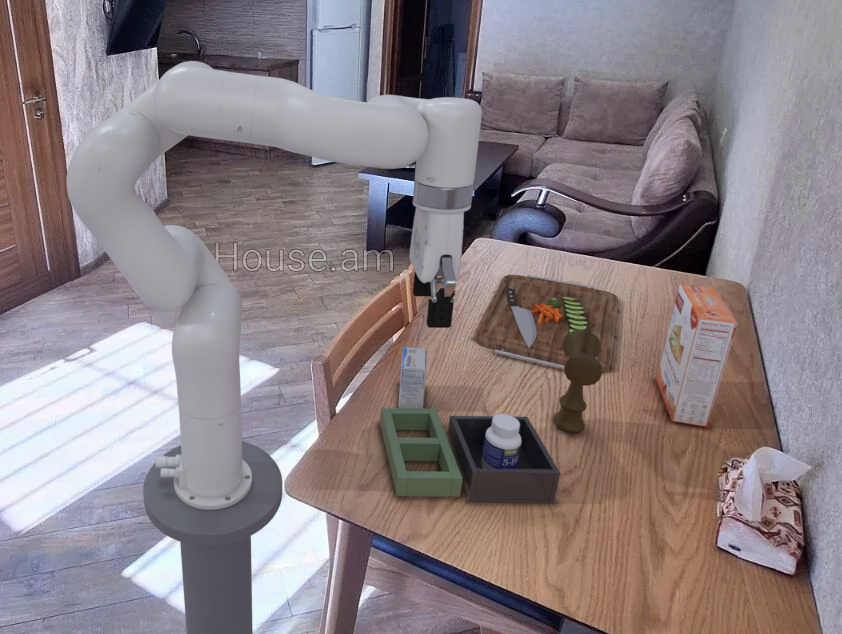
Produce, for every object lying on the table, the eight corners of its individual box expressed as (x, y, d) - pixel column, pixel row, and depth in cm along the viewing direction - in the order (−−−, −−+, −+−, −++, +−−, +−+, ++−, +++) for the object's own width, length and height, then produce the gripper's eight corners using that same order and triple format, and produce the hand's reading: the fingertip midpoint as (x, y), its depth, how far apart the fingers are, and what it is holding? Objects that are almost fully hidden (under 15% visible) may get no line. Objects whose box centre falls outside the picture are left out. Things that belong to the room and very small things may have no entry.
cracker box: (653, 380, 126) (678, 282, 118) (689, 386, 124) (716, 287, 116) (668, 422, 114) (697, 315, 106) (707, 429, 112) (740, 321, 104)
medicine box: (422, 411, 117) (427, 370, 113) (397, 408, 118) (401, 367, 114) (423, 387, 124) (427, 348, 121) (399, 385, 125) (402, 345, 122)
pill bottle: (503, 485, 98) (512, 437, 95) (473, 467, 102) (480, 420, 99) (522, 469, 101) (531, 422, 98) (492, 452, 105) (500, 407, 102)
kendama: (585, 414, 116) (607, 314, 108) (588, 446, 108) (611, 341, 100) (549, 406, 118) (568, 308, 110) (549, 437, 110) (569, 334, 102)
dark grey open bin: (468, 502, 96) (472, 472, 94) (446, 443, 108) (450, 415, 106) (554, 503, 96) (560, 473, 93) (522, 444, 108) (527, 416, 106)
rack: (396, 496, 97) (398, 477, 96) (379, 424, 113) (381, 407, 112) (460, 497, 97) (462, 478, 96) (434, 425, 113) (436, 408, 112)
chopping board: (608, 382, 125) (611, 368, 124) (468, 348, 137) (469, 336, 136) (618, 294, 162) (620, 283, 161) (506, 274, 174) (508, 263, 173)
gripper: (402, 177, 93) (394, 285, 100) (427, 214, 77) (415, 340, 84) (454, 177, 93) (443, 285, 100) (490, 215, 77) (474, 340, 84)
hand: (430, 310), depth 92 cm, fingers open, 9 cm apart
